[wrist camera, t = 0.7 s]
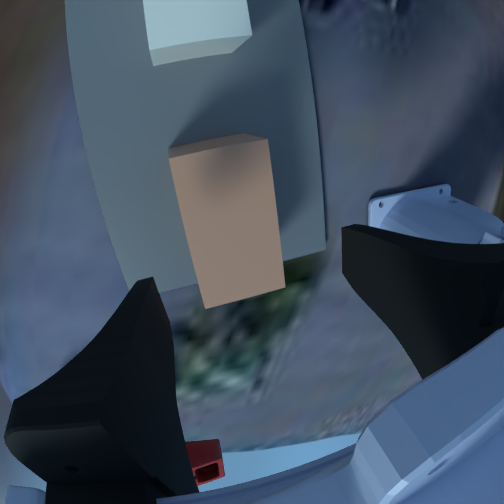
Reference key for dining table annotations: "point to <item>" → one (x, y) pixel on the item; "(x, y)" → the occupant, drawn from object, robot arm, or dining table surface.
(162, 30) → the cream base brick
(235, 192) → the tan rectangular block
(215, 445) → the toy fire truck
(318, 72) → the dining table surface
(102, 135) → the baseplate
